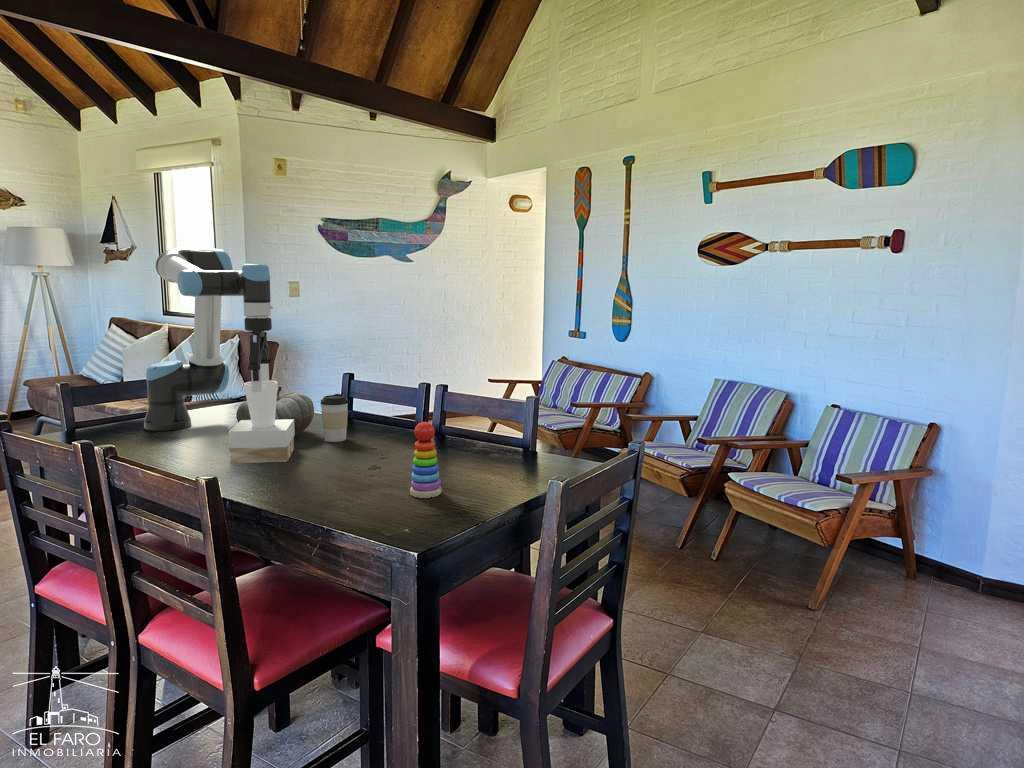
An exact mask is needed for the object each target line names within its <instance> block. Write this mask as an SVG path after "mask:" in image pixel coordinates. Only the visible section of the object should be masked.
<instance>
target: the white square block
mask: <svg viewBox="0 0 1024 768" xmlns="http://www.w3.org/2000/svg"><path fill="white" fill-rule="evenodd" d="M274 424H275V425H274V426H271V427H265V428H255V427H253V426H252V422H251V420H241V421H240V422H238V421H237V423H236V424H235V425H234V426H233V427H232V428H230V429H229V431H228V449H230V448H267V447H287V446H288V444H289V443H290V441H291V440H292V438H293V437H294V438H295V436H294V435H295V429H294V419H283V420H275V423H274Z"/></svg>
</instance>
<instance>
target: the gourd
mask: <svg viewBox="0 0 1024 768" xmlns="http://www.w3.org/2000/svg"><path fill="white" fill-rule="evenodd" d="M282 388H283V387H282V386H280V385H278V390H277V401H276V413H275V420H283V419H294V429H295V435H294V437H296V436H298V435H300V434H301V433H303V432H304V431H305V430H306V429H307V428H309V426H310V425H311V423H312V422H313V420H314V415H315V406H314V402H313V400H312V399H311V398H310V397H309V396H307V395H305V394H304V393H299V392H297V391H287V392H283V393H282V394H280V392H281V391H282ZM241 420H251V418H250V413H249V408H248V403H247V400H246V401H244V402H242V403H241V404H240V405H239V406H238V407H237V410H236V421H237V423H238V422H240V421H241Z"/></svg>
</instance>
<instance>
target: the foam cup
mask: <svg viewBox="0 0 1024 768" xmlns="http://www.w3.org/2000/svg"><path fill="white" fill-rule="evenodd" d="M278 384H279V383H278V381H277V380H272V379H271V380H270V379H269V380H262V392H252V383H251V381H246V382H244V383H243V389H244V393H245V397H246V401H247V403H248V408H249V413H250V418H251V422H252V426H253V427H255V428H265V427H271V426H274V425H275V424H274V423H275V413H276V401H277V390H278V387H279V385H278Z"/></svg>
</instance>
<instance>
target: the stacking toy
mask: <svg viewBox="0 0 1024 768" xmlns="http://www.w3.org/2000/svg"><path fill="white" fill-rule="evenodd" d="M413 433H414V436H415V439H416V440H417V441H415V442H414V448H415V450H414V452H413V453H414V457H413V460H412V462H413V465H412V468H411V469H412V473H411V474H410V476H411V479H412V480H411V482H410V485H411V487H410V489H409V493H410V495H411V496H413V497H414V498H417V497H418V499H430V498H431V497H432V498H435V497H438V496H439V495H441V494H442V492H443V491H442V487H441V484H442V480H441V479H440V478H439V477H440V473H439V471H438V470H439V465H438V464H437V463H438V458H437V456H436V455H437V450H436V448H435V446H436V443H435V441H434V440H432V439H433V438H434V436H435V434H436V430H435V426H434V425H432V423H430V422H427V421H422V422H418V423H417V425H416V426H415V427H414V430H413Z"/></svg>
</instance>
